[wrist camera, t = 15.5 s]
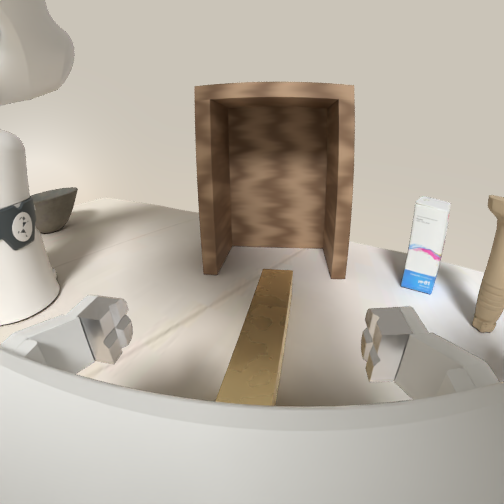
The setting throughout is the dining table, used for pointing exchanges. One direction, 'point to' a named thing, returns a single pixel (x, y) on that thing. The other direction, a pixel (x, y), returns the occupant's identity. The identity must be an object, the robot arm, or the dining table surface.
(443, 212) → the ink box
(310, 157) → the walnut stand
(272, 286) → the brass bar
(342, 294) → the dining table surface
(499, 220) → the handle
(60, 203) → the bowl
